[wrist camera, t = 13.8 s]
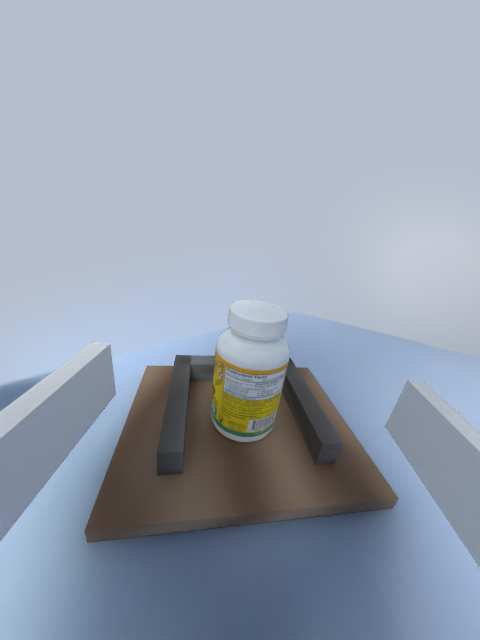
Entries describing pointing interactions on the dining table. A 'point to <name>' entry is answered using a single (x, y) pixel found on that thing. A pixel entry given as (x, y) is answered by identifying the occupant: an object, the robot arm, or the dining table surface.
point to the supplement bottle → (249, 370)
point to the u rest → (229, 461)
